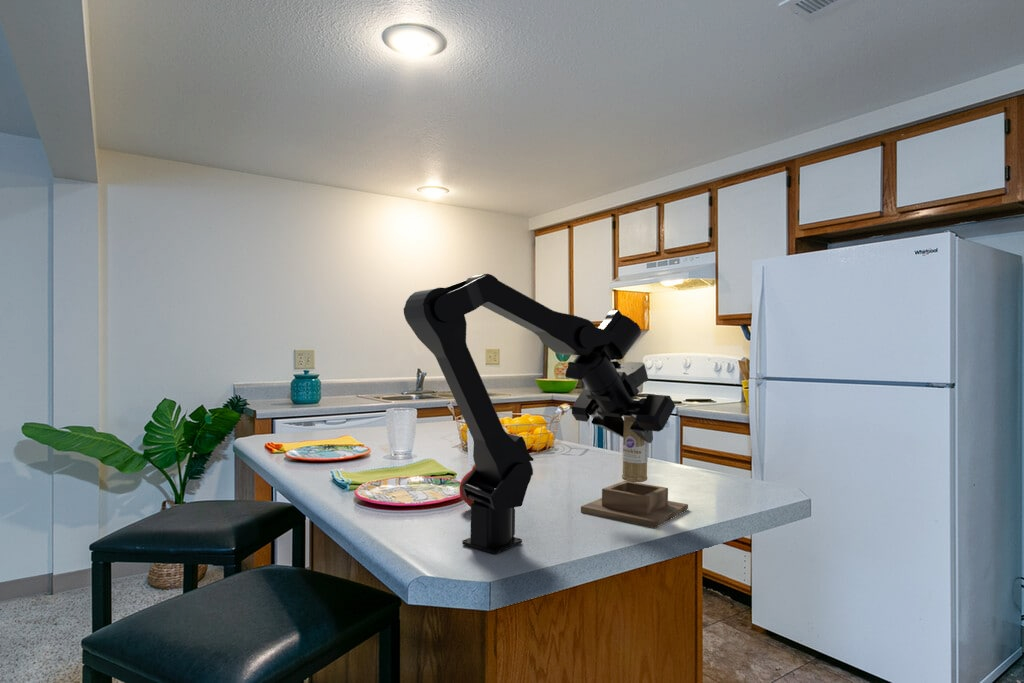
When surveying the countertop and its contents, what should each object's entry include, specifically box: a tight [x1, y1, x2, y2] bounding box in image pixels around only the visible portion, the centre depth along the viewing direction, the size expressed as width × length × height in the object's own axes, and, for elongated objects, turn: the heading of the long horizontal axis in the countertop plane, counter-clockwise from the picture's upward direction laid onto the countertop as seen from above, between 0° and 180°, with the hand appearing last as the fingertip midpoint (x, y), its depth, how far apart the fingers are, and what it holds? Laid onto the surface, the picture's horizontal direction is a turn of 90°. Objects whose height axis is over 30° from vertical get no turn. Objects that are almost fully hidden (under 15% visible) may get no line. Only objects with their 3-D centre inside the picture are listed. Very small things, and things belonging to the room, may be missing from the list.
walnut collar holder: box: [580, 480, 689, 529], centre depth 105 cm, size 14×14×4 cm
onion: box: [458, 463, 476, 508], centre depth 104 cm, size 6×6×8 cm
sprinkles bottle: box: [621, 415, 649, 483], centre depth 105 cm, size 5×5×14 cm
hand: (640, 439), depth 106 cm, fingers closed on sprinkles bottle, 4 cm apart
